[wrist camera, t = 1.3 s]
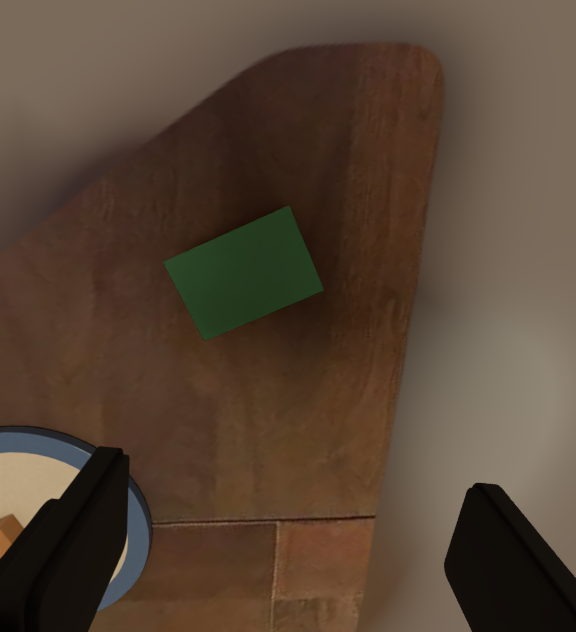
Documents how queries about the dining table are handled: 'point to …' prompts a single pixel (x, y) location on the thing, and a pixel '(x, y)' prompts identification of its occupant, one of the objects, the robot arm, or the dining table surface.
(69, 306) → the dining table surface
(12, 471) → the plate
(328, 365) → the dining table surface
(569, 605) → the robot arm
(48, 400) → the dining table surface
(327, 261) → the dining table surface
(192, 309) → the sponge
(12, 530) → the orange flat square block
